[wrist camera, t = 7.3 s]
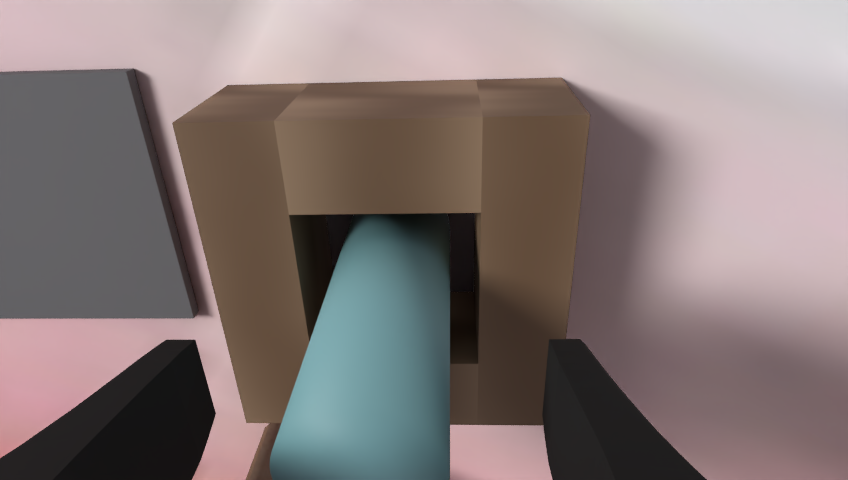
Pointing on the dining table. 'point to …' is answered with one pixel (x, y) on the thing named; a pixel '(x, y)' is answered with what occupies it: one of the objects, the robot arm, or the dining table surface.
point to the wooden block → (264, 454)
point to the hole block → (390, 194)
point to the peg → (376, 360)
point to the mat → (84, 202)
